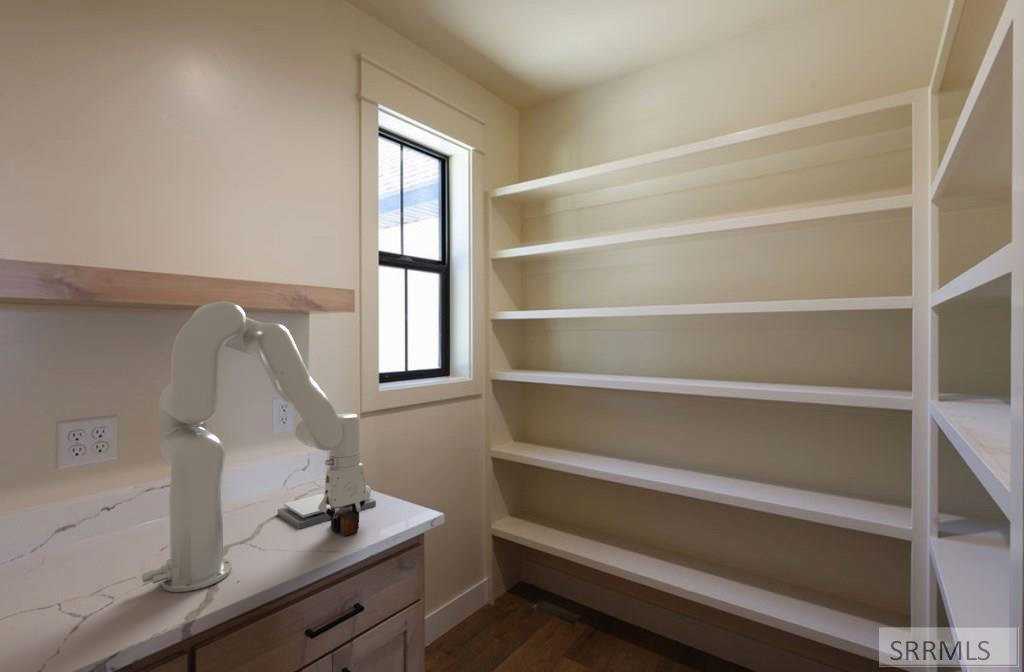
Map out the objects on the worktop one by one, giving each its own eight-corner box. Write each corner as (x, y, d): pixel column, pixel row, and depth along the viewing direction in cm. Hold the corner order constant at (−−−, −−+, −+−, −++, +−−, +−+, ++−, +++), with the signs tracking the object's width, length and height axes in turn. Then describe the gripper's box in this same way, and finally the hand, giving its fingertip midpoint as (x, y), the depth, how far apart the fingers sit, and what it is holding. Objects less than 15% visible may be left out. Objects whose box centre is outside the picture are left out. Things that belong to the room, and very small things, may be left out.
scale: (299, 528, 127) (298, 506, 127) (277, 514, 138) (277, 493, 138) (376, 505, 144) (376, 485, 144) (352, 494, 155) (351, 475, 155)
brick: (359, 533, 124) (359, 515, 124) (344, 537, 122) (344, 519, 122) (345, 521, 133) (345, 504, 133) (331, 524, 130) (331, 507, 130)
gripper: (320, 470, 118) (320, 543, 118) (380, 457, 130) (380, 523, 130) (307, 464, 123) (307, 534, 123) (366, 452, 136) (366, 516, 136)
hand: (345, 528), depth 127 cm, fingers closed on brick, 4 cm apart
